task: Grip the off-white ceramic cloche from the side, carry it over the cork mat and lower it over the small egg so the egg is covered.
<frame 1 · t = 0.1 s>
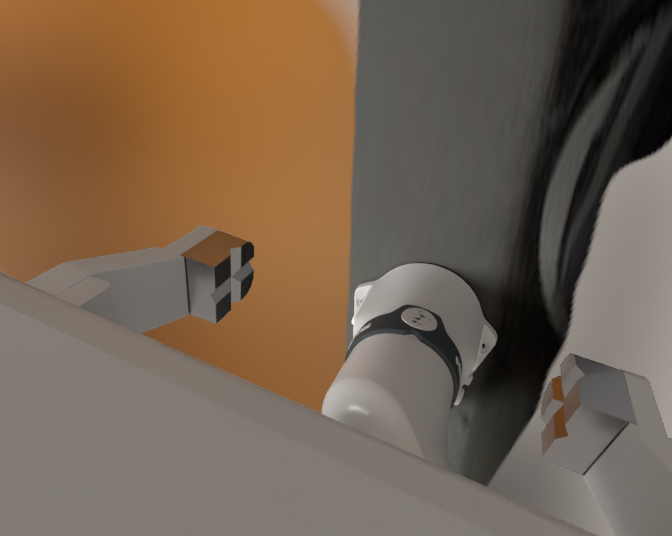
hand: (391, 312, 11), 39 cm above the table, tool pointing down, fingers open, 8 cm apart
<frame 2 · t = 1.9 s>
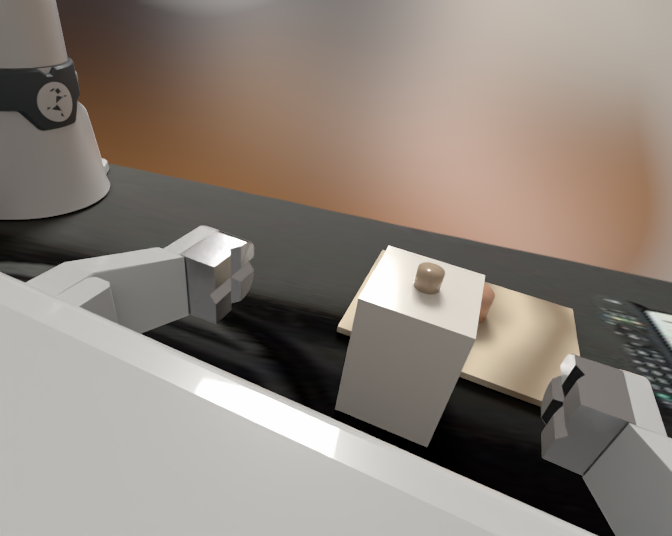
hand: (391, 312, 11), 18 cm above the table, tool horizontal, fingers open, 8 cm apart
mat: (463, 321, 39), on the table
egg: (466, 310, 39), resting on mat
cloche: (392, 392, 31), on the table
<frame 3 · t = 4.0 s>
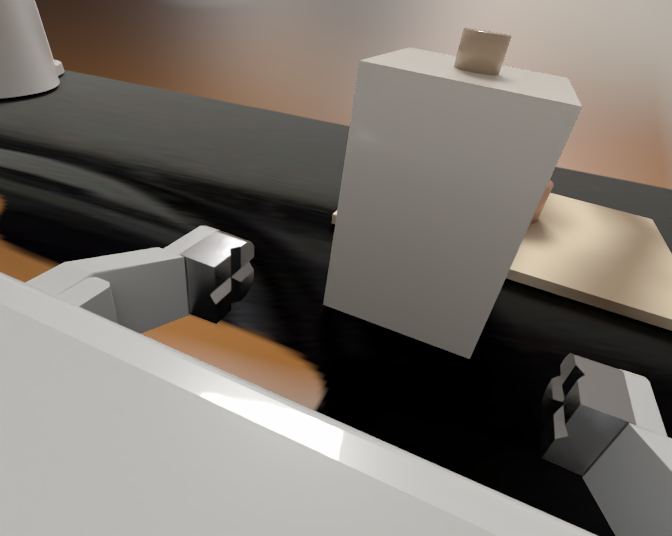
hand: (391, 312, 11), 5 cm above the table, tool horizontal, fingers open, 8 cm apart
mat: (506, 224, 28), on the table
egg: (510, 211, 29), resting on mat
cloche: (411, 290, 21), on the table
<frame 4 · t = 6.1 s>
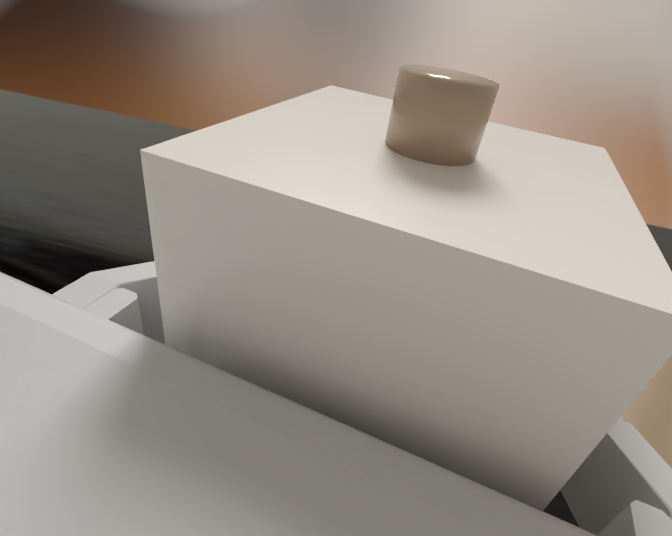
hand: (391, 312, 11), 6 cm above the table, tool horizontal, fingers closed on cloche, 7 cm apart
mat: (499, 310, 21), on the table
cloche: (346, 464, 13), on the table, touching gripper
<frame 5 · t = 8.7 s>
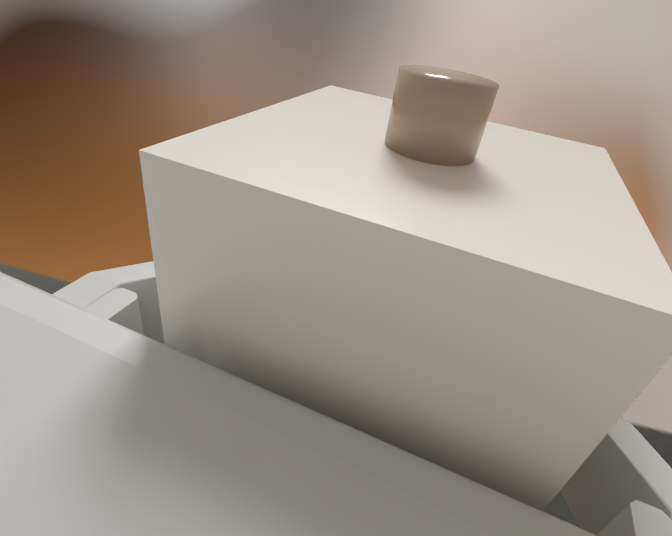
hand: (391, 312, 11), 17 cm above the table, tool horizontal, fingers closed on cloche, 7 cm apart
cloche: (345, 464, 13), point 11 cm above the table, touching gripper
when the fingers open (8 cm above the table, at t = 11.6 s): cloche drops 1 cm, resting on mat.
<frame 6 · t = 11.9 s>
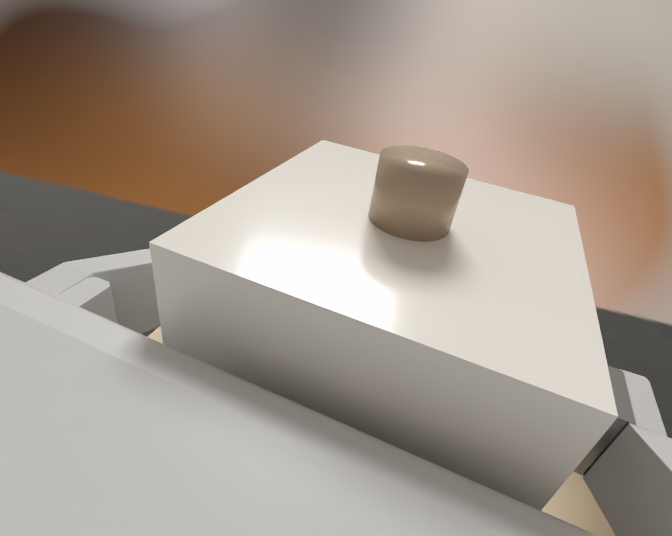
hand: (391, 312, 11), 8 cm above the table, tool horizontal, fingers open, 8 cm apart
mat: (326, 524, 13), on the table
cloche: (339, 488, 14), point 1 cm above the table, touching mat
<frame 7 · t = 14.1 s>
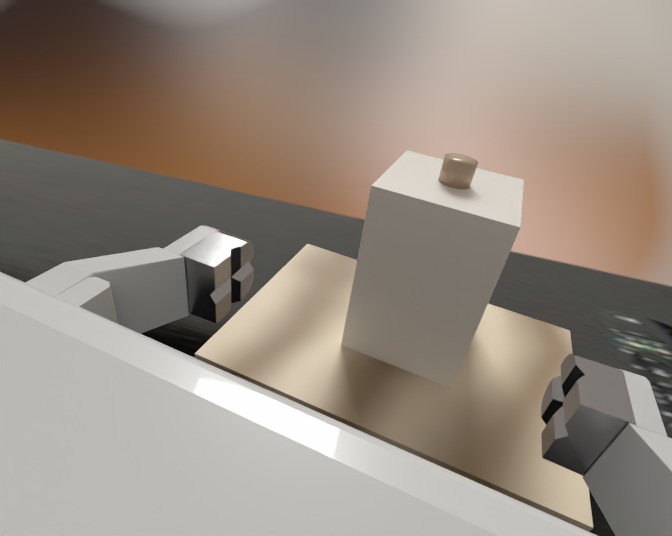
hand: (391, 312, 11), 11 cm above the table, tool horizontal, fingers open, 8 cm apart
mat: (402, 347, 26), on the table
cloche: (408, 331, 26), point 1 cm above the table, touching mat
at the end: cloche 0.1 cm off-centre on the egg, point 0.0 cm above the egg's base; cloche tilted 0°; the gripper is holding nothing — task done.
